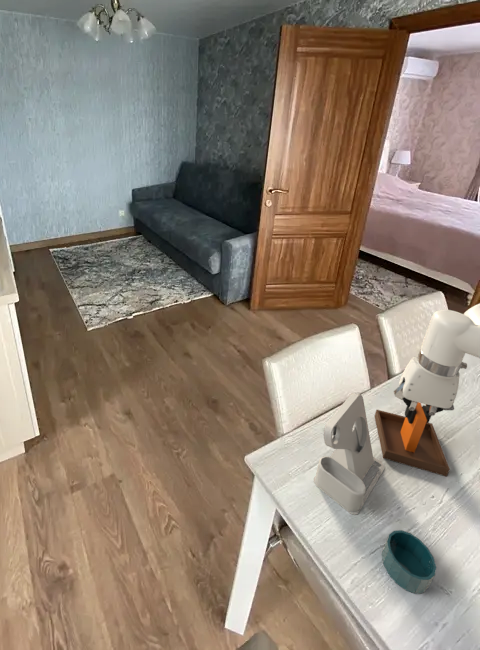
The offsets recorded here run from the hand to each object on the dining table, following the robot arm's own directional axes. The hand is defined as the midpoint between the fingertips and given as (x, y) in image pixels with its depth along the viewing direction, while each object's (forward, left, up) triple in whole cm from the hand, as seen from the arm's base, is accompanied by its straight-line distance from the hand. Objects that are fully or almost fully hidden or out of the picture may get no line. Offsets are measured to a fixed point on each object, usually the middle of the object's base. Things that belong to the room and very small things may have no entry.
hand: (415, 420), depth 85 cm
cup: (+7, +30, -8) cm, 32 cm away
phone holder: (+15, +14, -8) cm, 22 cm away
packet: (0, 0, -8) cm, 8 cm away
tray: (0, 0, -8) cm, 8 cm away
